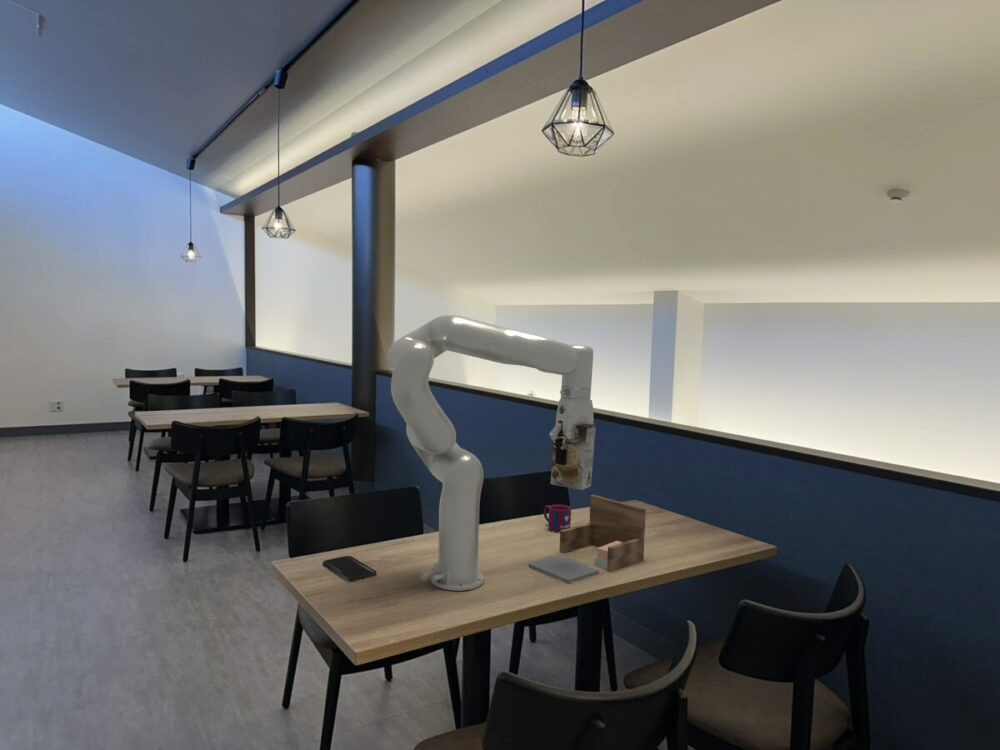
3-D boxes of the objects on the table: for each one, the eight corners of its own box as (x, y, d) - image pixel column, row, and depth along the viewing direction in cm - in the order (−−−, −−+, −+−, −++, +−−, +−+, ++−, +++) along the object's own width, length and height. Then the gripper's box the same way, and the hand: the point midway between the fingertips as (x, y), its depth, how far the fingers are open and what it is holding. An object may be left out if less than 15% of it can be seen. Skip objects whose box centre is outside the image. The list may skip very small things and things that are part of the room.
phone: (349, 555, 172) (378, 572, 160) (349, 559, 172) (378, 576, 160) (320, 561, 166) (348, 579, 155) (320, 565, 167) (348, 584, 155)
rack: (610, 571, 167) (612, 517, 166) (559, 552, 181) (561, 501, 180) (643, 560, 176) (645, 508, 175) (592, 542, 190) (594, 494, 189)
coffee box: (549, 484, 168) (553, 421, 167) (559, 480, 173) (564, 419, 172) (582, 490, 163) (586, 426, 162) (592, 486, 169) (596, 424, 168)
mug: (557, 534, 197) (558, 511, 196) (537, 525, 205) (538, 503, 204) (574, 530, 200) (575, 508, 200) (554, 522, 209) (555, 501, 208)
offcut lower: (607, 571, 169) (607, 561, 168) (594, 566, 171) (595, 557, 171) (629, 561, 176) (629, 552, 176) (616, 557, 179) (616, 548, 178)
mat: (568, 583, 158) (568, 580, 158) (528, 566, 169) (528, 563, 169) (598, 573, 166) (598, 570, 166) (558, 557, 176) (558, 554, 176)
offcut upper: (608, 561, 169) (608, 551, 168) (596, 557, 171) (597, 548, 171) (627, 553, 175) (628, 544, 175) (616, 549, 178) (616, 540, 177)
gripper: (563, 396, 158) (558, 468, 159) (609, 394, 170) (604, 462, 171) (541, 392, 164) (536, 463, 165) (586, 392, 175) (582, 457, 177)
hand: (571, 462), depth 168 cm, fingers closed on coffee box, 7 cm apart
